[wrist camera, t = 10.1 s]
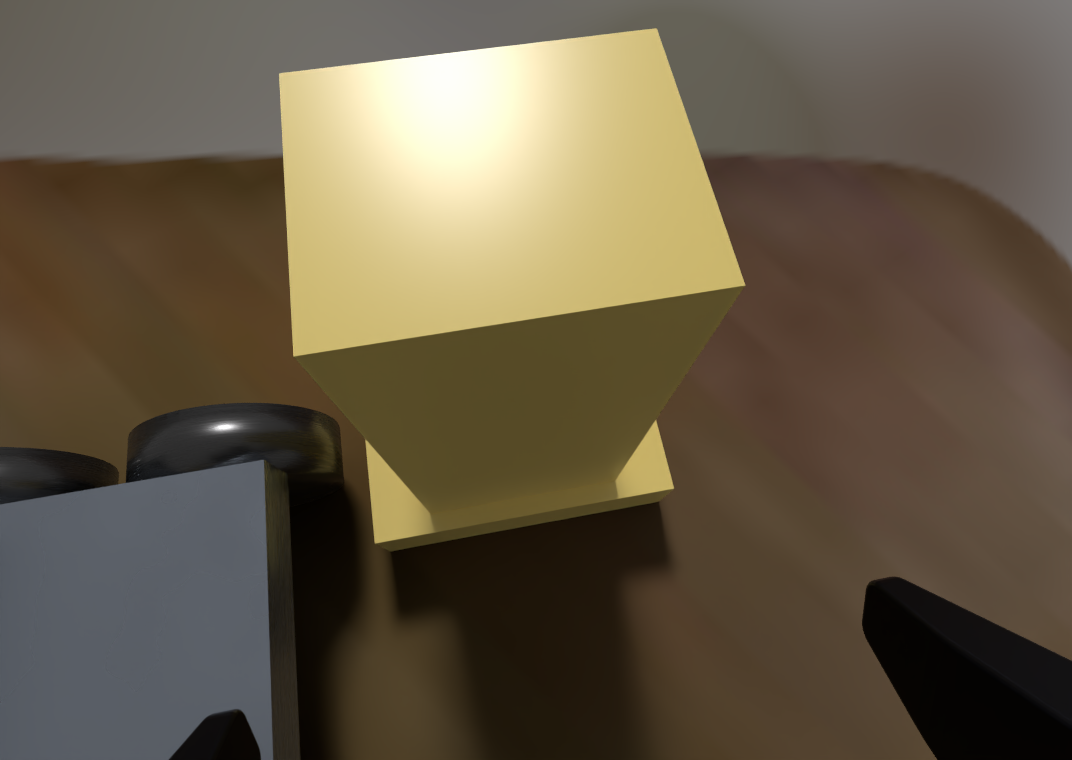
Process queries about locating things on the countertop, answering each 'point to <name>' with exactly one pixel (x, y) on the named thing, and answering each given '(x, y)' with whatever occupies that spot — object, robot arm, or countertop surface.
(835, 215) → the countertop surface
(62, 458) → the trolley
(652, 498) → the yellow block on base
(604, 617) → the countertop surface
